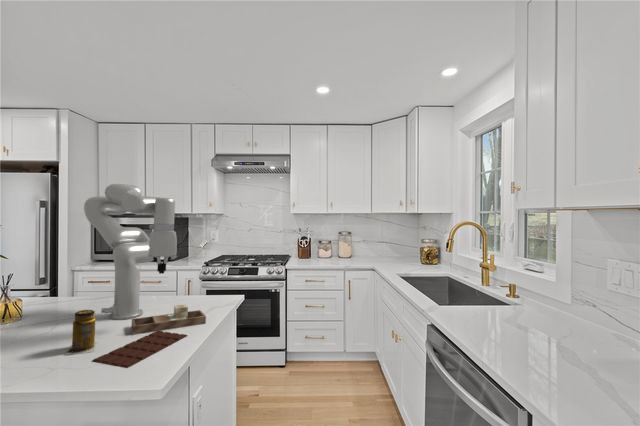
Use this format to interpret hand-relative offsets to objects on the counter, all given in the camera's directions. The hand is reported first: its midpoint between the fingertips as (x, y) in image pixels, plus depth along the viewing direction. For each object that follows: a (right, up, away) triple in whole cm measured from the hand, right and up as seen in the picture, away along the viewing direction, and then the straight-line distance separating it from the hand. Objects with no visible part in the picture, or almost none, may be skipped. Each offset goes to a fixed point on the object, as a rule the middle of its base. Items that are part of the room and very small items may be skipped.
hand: (161, 273), depth 133 cm
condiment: (-14, -21, -25) cm, 35 cm away
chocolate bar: (+5, -21, -23) cm, 32 cm away
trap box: (+4, -21, -1) cm, 21 cm away
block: (+7, -18, +1) cm, 19 cm away
